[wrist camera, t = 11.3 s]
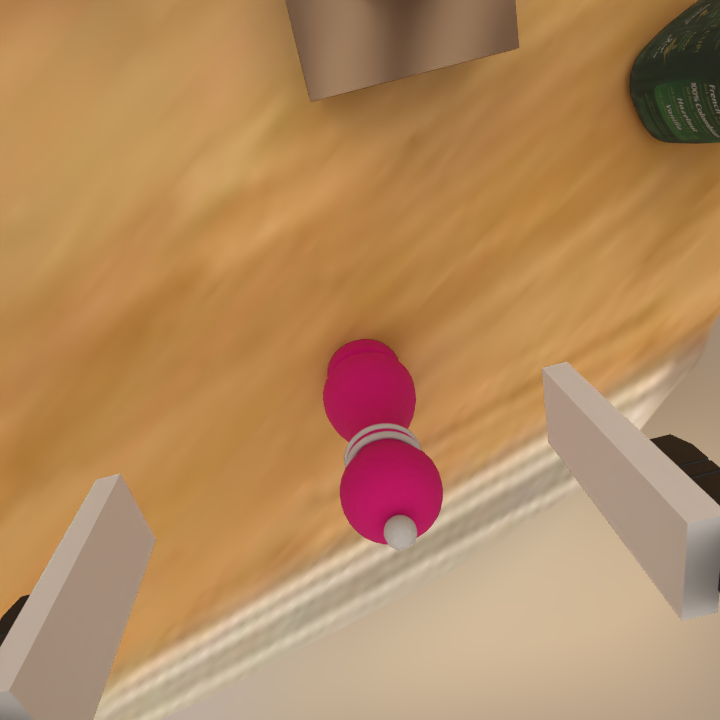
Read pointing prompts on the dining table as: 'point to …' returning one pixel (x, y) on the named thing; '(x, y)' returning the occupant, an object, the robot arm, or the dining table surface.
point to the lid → (394, 38)
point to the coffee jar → (681, 78)
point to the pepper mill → (380, 446)
